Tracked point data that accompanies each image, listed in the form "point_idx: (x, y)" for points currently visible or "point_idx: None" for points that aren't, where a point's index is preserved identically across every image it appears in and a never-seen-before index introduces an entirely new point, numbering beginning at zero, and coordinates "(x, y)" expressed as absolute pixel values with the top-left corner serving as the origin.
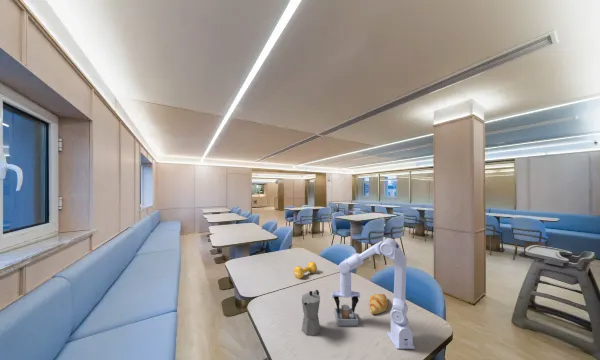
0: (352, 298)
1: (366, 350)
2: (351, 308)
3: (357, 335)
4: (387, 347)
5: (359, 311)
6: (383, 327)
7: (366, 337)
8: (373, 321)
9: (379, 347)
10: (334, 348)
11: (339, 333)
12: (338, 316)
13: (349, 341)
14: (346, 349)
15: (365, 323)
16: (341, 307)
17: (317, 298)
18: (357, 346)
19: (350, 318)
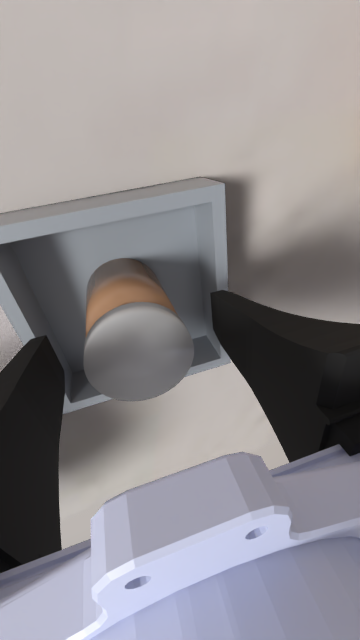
0: (301, 407)
1: (211, 455)
2: (209, 197)
3: (191, 402)
4: None
5: (281, 115)
6: (356, 303)
7: (234, 398)
8: (331, 258)
9: (267, 426)
10: (72, 498)
11: (86, 423)
12: (50, 278)
13: (144, 446)
14: (128, 481)
15: (269, 294)
16: (86, 371)
17: None
18: (178, 454)
19: (169, 281)
